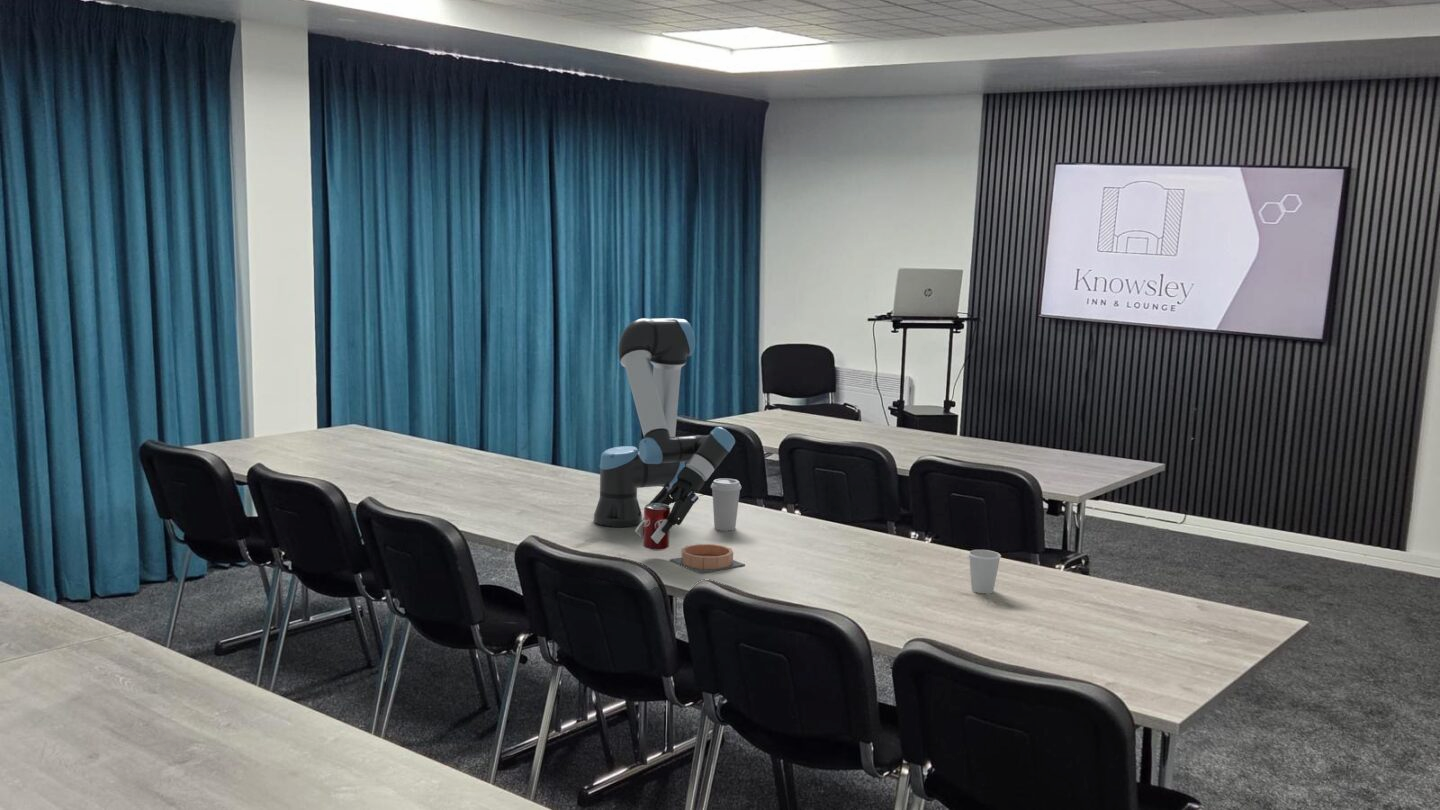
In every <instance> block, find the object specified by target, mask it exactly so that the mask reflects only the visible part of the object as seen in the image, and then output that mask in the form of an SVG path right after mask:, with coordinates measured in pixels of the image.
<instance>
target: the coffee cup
mask: <svg viewBox="0 0 1440 810" xmlns="http://www.w3.org/2000/svg"><path fill="white" fill-rule="evenodd" d="M710 488H711V491H712V493H711V494H712V506H713V507H712V509H713V525H714V527H713V528H714V529H715V530H717V531H722V532H731V531H735V530H736V524H737V517H738V508H739V500H740V493H741V492H740V491H741V489H742V485H741V483H740V481H739V480H738V479H736V478H735V479H734V478H716V479H714V480H713V481H712V483H711V485H710ZM728 530H729V531H728ZM730 530H731V531H730Z"/></svg>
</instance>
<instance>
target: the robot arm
mask: <svg viewBox="0 0 1440 810" xmlns="http://www.w3.org/2000/svg"><path fill="white" fill-rule="evenodd" d="M617 349H618V353H617V354H618V359H619V362H620V365H621V366H622V367H624V368H625V372H626V375H627V378H628V383H629V387H630V389H631V393H632V397H633V401H634V405H635V409H636V412H637V416H638V420H639V424H640V427H641V428H640V429H641V431H642V435H643V438H642V439H640V441H639V444H638V448H637V447H636V446H633V445H632V446H631V445H625V446H623V445H622V446H616V447H611V448H608V449H605V450H604V451H602V453H601V455H600V463H599V468H600V469H599V498H598V502H597V505H596V508H595V511H594V513H593V522H594V523H595V524H596V523H597V525H599V524H600V525H599V526H603V525H605V526H604V527H609V526H612V527H613V528H629V527H633V526H634V525H635V526H636V529H634V531H635V533H636V534H637V535H638V536H639V537H643V531H644V517H643V514H642V511H641V507H640V503H639V501H638V489H640V488H654V487H662V488H661V490H660V491H659V492H658V493H657V494H656V495H655V496H654V498H652V499H651V501H650V502H649V503H648V504H652V503H660V504H666V505H668V506H670V505H671V504H673V506H672V507H671V509H670V515H669V517H666V519H667V520H668V521H667V520H666V519H665V520H664V521H663V522H662V523H661V525H660V526H659V527H658V529H657V530H656V531H655V532H654V534H653V535H652V536H651V538H652V539H653V540H654V541H655V542H656V543H657V544H658V543H659V542H660V540H661V539H662V538H663V536H664V535H665V534H666V533H667V532H668V531H669V530H671V529H672V528H673V526H675V525H677V526H680V525H681V524H682V523H683V521H684V520H685V518H686V517H687V515H688V514H689V512H690V510H691V509H692V507H694V504H695V503H697V501H698V500H699V496H698V495H697V493H698V492H699V491H700V490H701V489H702V488H703V486H704V485H705V482H706V481H708V480H709V478H710V477H711V476H712V474H713V473H714V472H715V471H716V469H717V467H719V465H721V463H722V462H723V460H724V459H725V458H726V457H727V456H728V454H729V453H730V452H731V450H732V449H733V447H734V446H735V444H736V439H735V437H734V435H732V433H730V432H729V431H728V430H727V429H726V428H724V427H721V426H716V427H714V429H712V430H711V431H710V433H709V434H707V435H702V434H701V435H700V434H695V435H694V434H693V435H684V436H676V431H677V420H678V419H677V418H678V409H679V408H678V407H679V396H680V395H679V394H680V382H681V374H682V373H681V371H682V367H684V366H685V365H686V364H687V358H688V357H690V356H692V355H694V352H695V350H696V337H695V332H694V330H693V327H692V325H691V324H690V321H689V322H688V320H687V319H684V318H674V317H665V318H663V317H662V318H656V317H655V318H645V317H643V318H639V319H635V320H634V321H632V322H630V323H629V324H628V325H627V326H626V327H625V328H624V330H623V331H622V334H621V335H620V338H619V341H618V348H617ZM651 365H652V366H653V367H652V366H651Z"/></svg>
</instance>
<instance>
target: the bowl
mask: <svg viewBox="0 0 1440 810" xmlns="http://www.w3.org/2000/svg"><path fill="white" fill-rule="evenodd" d="M680 553H681V554H680V555H681V556H680V557H675V558H671V559H668V561H669V560H670V561H669V562H671V561H672V562H671V563H673V562H675V563H674V564H676V563H677V564H676V565H678V564H680V565H679V566H681V565H682V566H681V567H683V566H685V567H684V568H686V567H687V569H688V568H689V569H688V570H691V569H692V570H691V571H693V570H694V571H693V572H696V571H697V572H696V573H698V572H699V574H702V573H703V574H708V573H713V572H719V571H724V570H730V569H735V568H740V567H744V566H746V564H745V563H742V562H740V561H737V560H735V559H734V551H733V549H732V548H731V547H727V546H726V545H722V544H720V545H719V544H712V543H696V544H690V545H685V547H683V548H681V551H680ZM703 574H702V575H703Z"/></svg>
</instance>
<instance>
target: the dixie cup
mask: <svg viewBox="0 0 1440 810" xmlns="http://www.w3.org/2000/svg"><path fill="white" fill-rule="evenodd" d="M968 557H969V570H970V571H969V574H970V585H971V586H970V587H971V588H970V589H972V590H971V591H972V592H973V591H974V593H976V592H978V593H977V594H980V593H986V594H985V595H989V594H990V593H991V594H993V593H994V590H995V586H996V580H997V575H998V571H999V570H998V569H999V564H1000V560H1001V559H1000V558H1002V554H1000V553H999V552H996V551H994V550H989V549H972V550H970V551H968Z"/></svg>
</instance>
